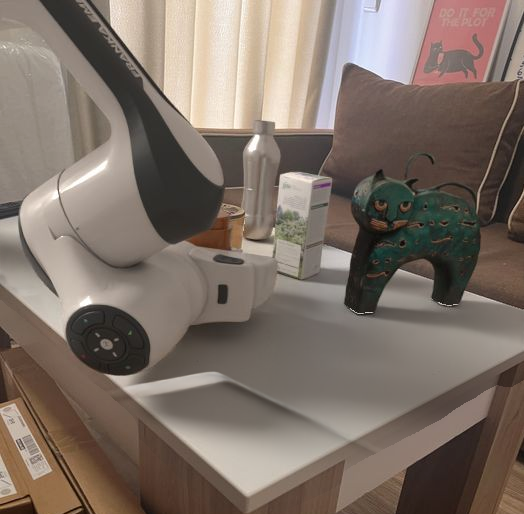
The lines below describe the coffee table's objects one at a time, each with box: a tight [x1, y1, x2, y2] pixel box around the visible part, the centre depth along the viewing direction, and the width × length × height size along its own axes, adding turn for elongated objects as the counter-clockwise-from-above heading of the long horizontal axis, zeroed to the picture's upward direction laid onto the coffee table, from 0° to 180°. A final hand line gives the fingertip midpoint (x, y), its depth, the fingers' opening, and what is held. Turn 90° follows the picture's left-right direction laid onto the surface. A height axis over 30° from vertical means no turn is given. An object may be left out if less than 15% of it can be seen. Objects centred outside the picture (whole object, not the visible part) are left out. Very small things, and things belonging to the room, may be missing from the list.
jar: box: [184, 209, 234, 251], centre depth 68 cm, size 6×6×10 cm
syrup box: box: [272, 171, 333, 280], centre depth 78 cm, size 6×6×14 cm
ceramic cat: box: [343, 151, 482, 313], centre depth 68 cm, size 20×6×20 cm, turn 112°
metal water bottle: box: [240, 119, 282, 241], centre depth 92 cm, size 6×7×20 cm
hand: (208, 249), depth 68 cm, fingers open, 6 cm apart
